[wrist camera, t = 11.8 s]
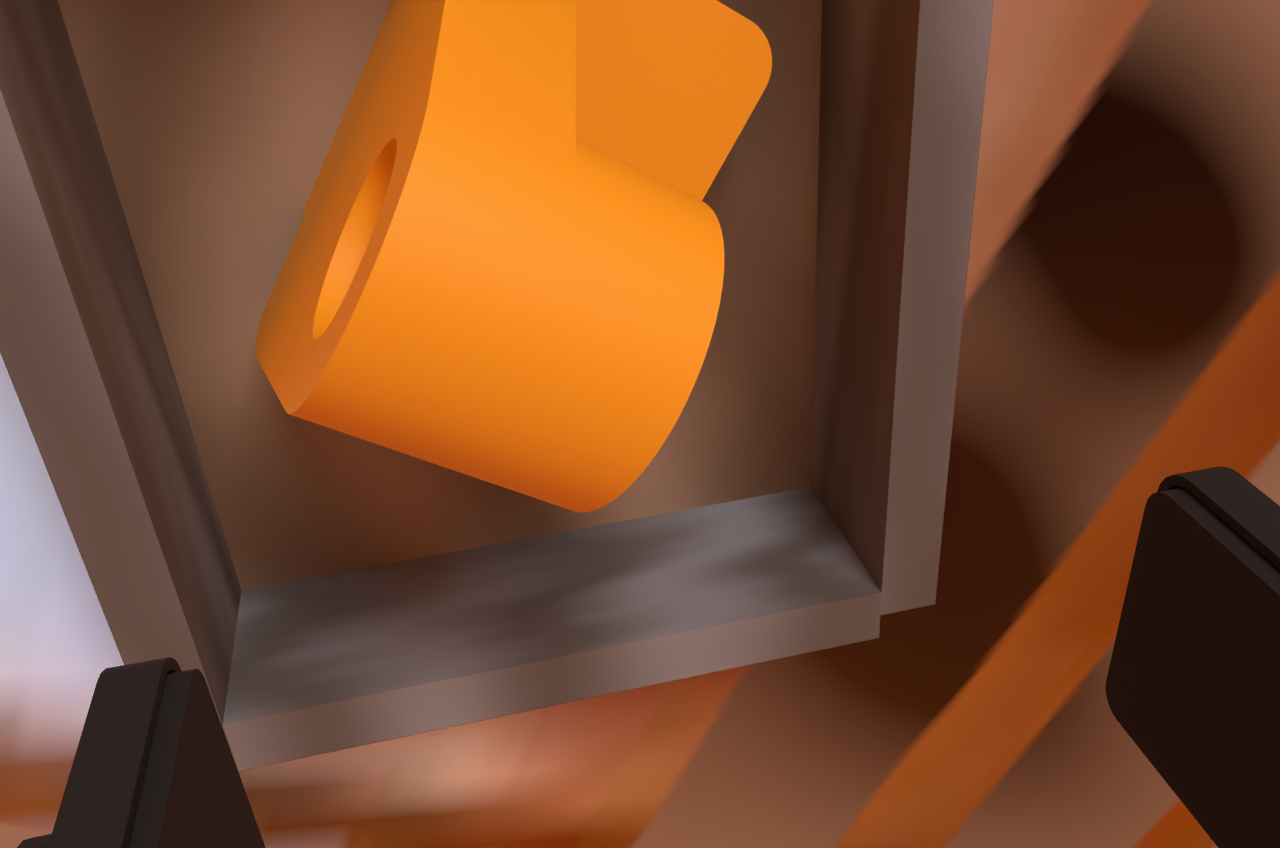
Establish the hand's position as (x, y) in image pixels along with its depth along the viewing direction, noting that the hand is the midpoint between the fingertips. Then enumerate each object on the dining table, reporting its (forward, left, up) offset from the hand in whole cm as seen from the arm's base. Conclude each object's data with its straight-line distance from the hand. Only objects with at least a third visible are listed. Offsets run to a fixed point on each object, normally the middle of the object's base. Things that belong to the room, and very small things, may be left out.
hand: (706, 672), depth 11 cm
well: (0, 0, -18) cm, 18 cm away
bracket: (0, 0, -17) cm, 17 cm away
